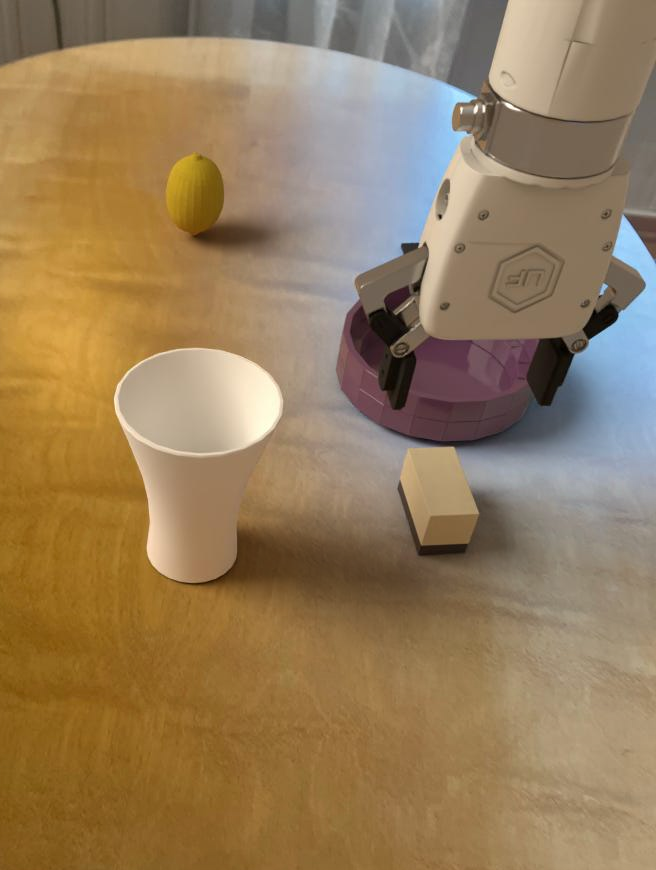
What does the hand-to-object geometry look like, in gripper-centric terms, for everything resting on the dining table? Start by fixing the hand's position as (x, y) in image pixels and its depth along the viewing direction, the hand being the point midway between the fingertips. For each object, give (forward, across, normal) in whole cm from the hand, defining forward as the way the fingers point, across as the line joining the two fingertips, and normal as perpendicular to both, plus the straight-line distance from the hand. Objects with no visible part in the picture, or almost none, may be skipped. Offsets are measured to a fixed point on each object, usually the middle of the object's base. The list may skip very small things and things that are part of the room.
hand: (465, 394), depth 65 cm
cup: (+12, -18, -2) cm, 21 cm away
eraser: (+12, 0, 0) cm, 12 cm away
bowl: (+12, +4, +16) cm, 20 cm away
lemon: (+12, -14, +40) cm, 44 cm away
